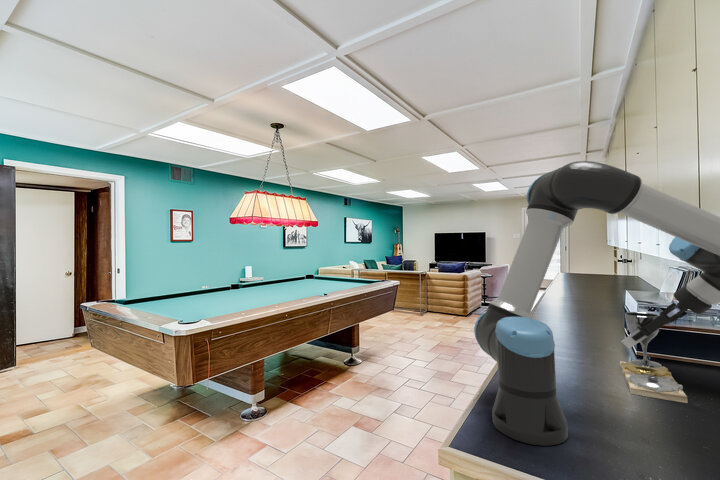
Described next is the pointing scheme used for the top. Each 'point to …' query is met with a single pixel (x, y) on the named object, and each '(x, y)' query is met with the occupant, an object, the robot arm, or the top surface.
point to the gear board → (652, 382)
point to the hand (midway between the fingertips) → (629, 342)
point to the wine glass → (641, 320)
